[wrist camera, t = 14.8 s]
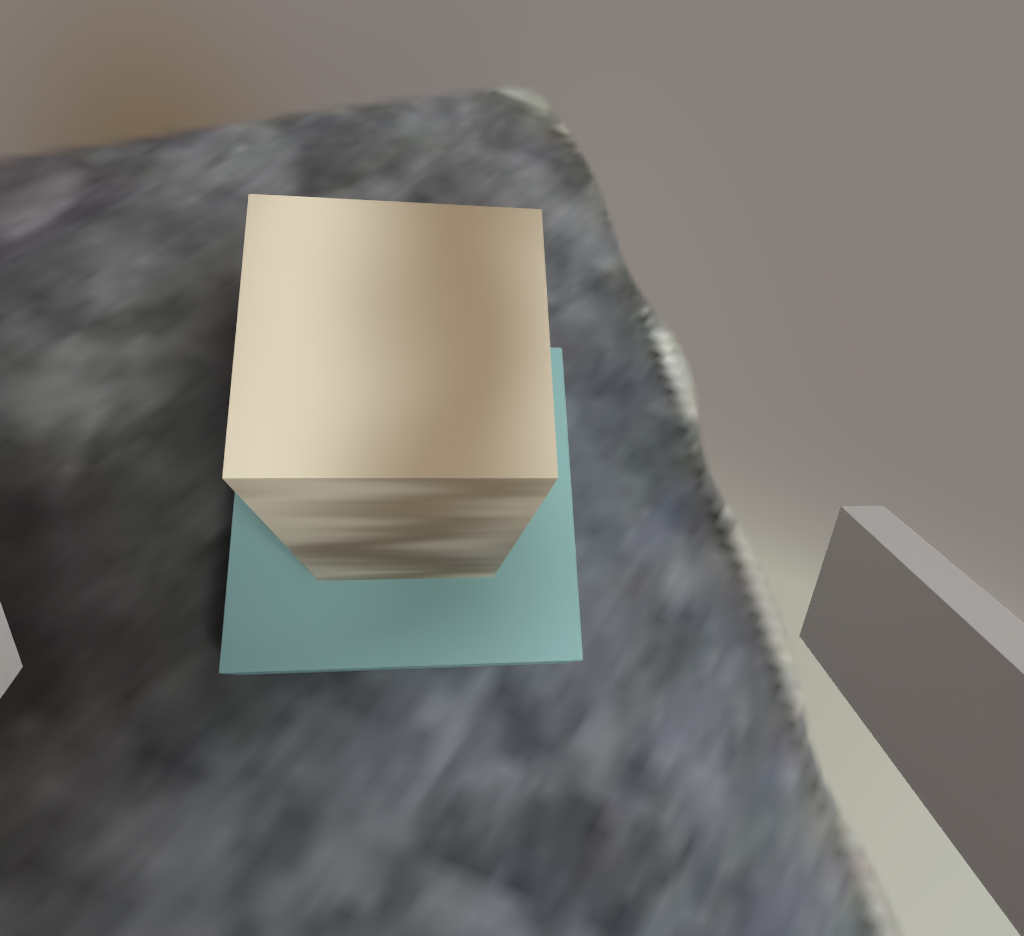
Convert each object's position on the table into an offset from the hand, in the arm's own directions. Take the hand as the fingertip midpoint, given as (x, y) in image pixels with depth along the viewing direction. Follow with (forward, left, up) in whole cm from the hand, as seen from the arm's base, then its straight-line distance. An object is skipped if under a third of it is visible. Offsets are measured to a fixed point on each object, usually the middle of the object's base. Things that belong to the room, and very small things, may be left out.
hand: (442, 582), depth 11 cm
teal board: (-1, +5, -16) cm, 17 cm away
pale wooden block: (-1, +5, -13) cm, 14 cm away
